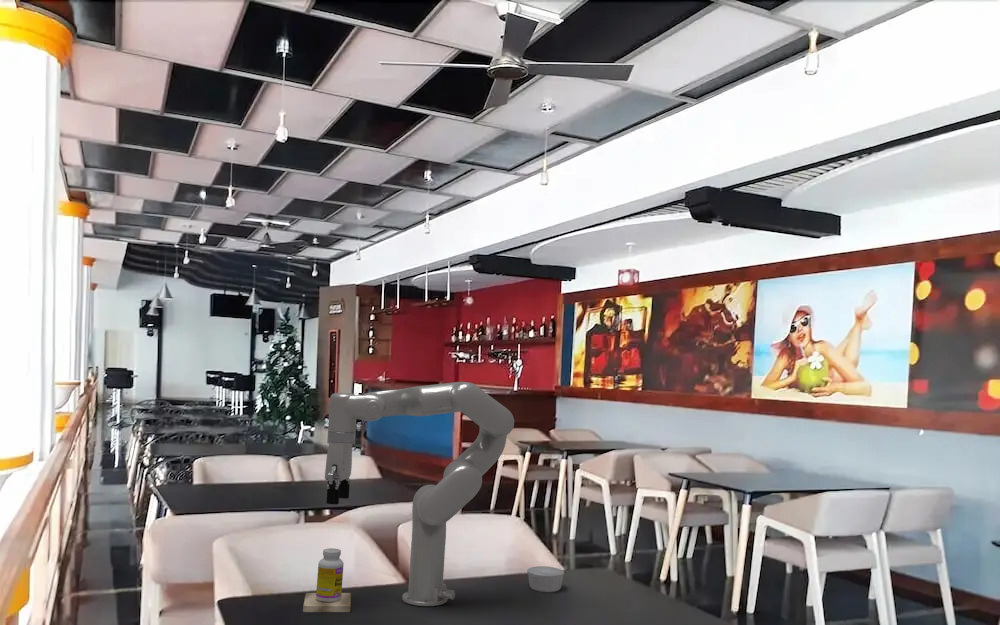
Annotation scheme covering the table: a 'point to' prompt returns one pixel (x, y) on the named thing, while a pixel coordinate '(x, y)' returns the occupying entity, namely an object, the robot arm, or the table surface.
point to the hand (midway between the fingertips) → (337, 501)
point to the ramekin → (545, 578)
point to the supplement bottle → (330, 576)
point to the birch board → (327, 604)
